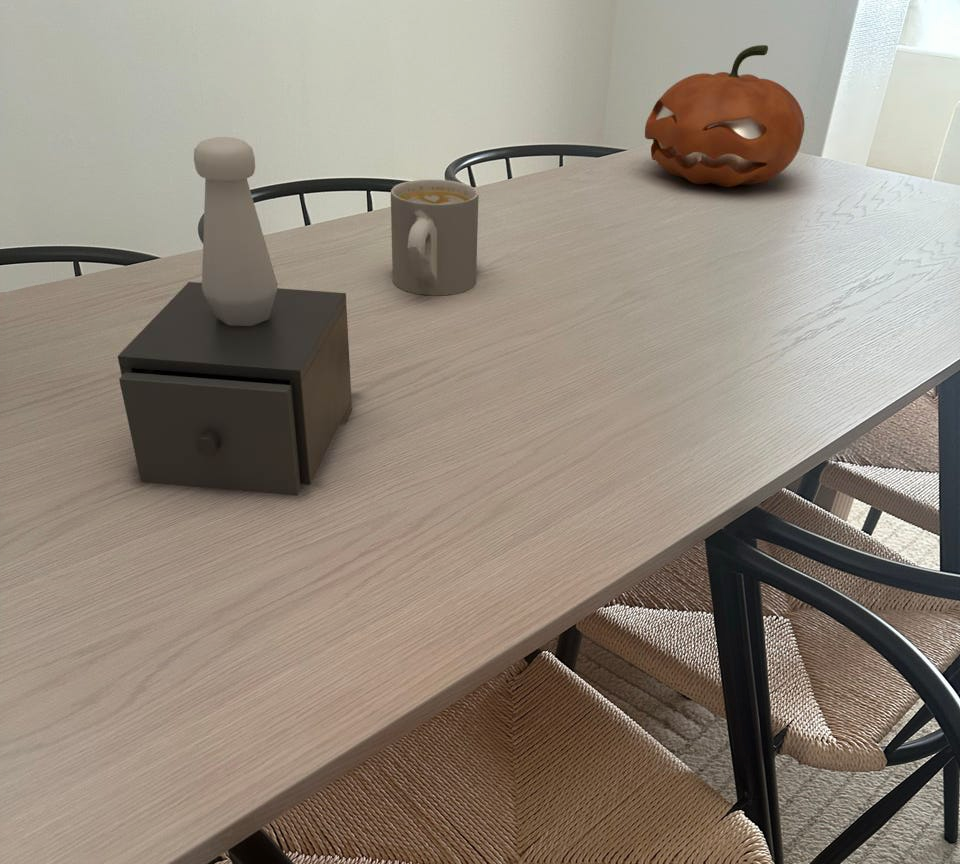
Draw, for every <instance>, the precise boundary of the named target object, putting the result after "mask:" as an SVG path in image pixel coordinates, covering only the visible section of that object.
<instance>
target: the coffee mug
mask: <svg viewBox="0 0 960 864" xmlns="http://www.w3.org/2000/svg"><path fill="white" fill-rule="evenodd" d="M479 197H480V196H479V191H478V190H477V189H476V188H475V187H473V186H472V185H469V184H467V183H464V182H459V181H455V180H446V179H416V180H409V181H405V182H401V183H397V184H396V185H394V186H392V188H391V189H390V222H391V223H390V225H391V227H390V229H391V265H392V267H391V268H392V282H393V285H395V286H396V287H397V288H398V289H401V290H403V291H405V292H407V293H408V292H409V293H412V294H416V295H423V296H437V297H438V296H439V297H440V296H451V295H456V294H460V293H464V292H466V291H468V290H471V289H472V288H474V287H475V285H476V283H477V261H478V230H479V229H478V228H479Z"/></svg>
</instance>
